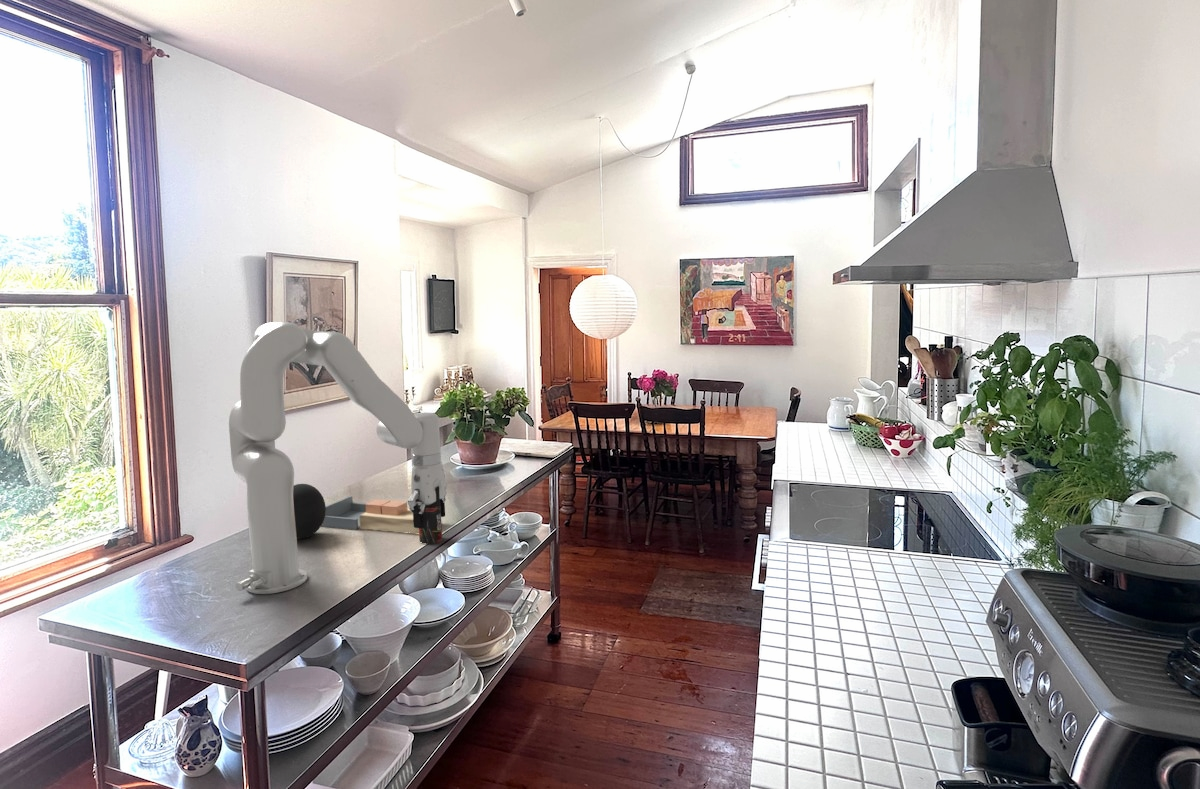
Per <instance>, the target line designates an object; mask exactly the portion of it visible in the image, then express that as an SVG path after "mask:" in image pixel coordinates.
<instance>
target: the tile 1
mask: <svg viewBox="0 0 1200 789" xmlns="http://www.w3.org/2000/svg"><path fill="white" fill-rule="evenodd" d="M391 501H392V500H388V499H387V500H386V499H378V498H376V499H374V500H372V501H370V502H367V503H366V504H365V505H366V513H375V514H382V505H384V504H386V503H388V502H391Z"/></svg>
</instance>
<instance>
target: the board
mask: <svg viewBox="0 0 1200 789" xmlns="http://www.w3.org/2000/svg"><path fill="white" fill-rule="evenodd" d="M359 529H360V530H367V529H373V530H372V531H377V530H384V531H383V532H387V531H394V532H393V533H397V532H408V533H409V532H410V533H419V528H414V522H413V514H412V512H411V510H410V507H409V506H407V511H405V512H403V513H401V514H399V515H386V514H375V513H366V512H365V513H363V514H361V515H360V528H359Z"/></svg>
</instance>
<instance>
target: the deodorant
mask: <svg viewBox="0 0 1200 789" xmlns="http://www.w3.org/2000/svg"><path fill="white" fill-rule="evenodd" d="M435 488H436V489H435V491H436V492H435V493H436V501H435V502H434V503H432V504H430V505H425V508H424V511H423V513H425V528H419V535H418V537H419V543H420V542H422V543H426V544H425V545H433V544H437V543H440V542H441V541H443V530H442V528H443V526H442V525H443V524H442V517H441V506H440V495H439V486H438V487H435ZM420 502H422V501H420ZM420 506H421V505H418V507H419V508H420ZM422 543H421V544H422Z"/></svg>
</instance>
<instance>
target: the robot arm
mask: <svg viewBox="0 0 1200 789" xmlns="http://www.w3.org/2000/svg"><path fill="white" fill-rule="evenodd" d="M291 362H292V363H297V364H298V363H299V364H307V365H312V366H313V365H314V366H319V367H320V366H321V367H324V369H325V370H327V372H328V373H329V375H331V377H332V378H333V380H335V382H336V383H337V384H338V386H339V387H340V388H341V390H342V391H343V392H344V393H345V395H346V396H347V397H348V398H349V400H351V401H352V402H353V403H354V404H356V405H357V406H359V407H360V408H362V409H364V410H365V411H367V412H369V413H370V414H371V415H373V416H374V417H375V418H376V419H377V420H378V421H379V422H378V423H377V425H376V435H377V438H379V439H380V440H381V442H383V443H385V444H388V445H391V446H394V447H397V448H401V449H404V450H405V449H407V450H410V455H411V466H412V468H411V482H410V483H411V484H410V486H411V495H410V496H409V498H408V499H407V506H408V507H410V510H411V512H412V514H413V522H414V528H425V513H423V511H424V508H425V505H430V504H432V503H434V502H435V501H436V493H435V492H436V491H435V489H436V488H435V487H438V486H439V495H440V506H441V518H444V517H446V505H445V502H446V501H447V500H446V495H447V488H448V483H446V476H445V470H444V465H443V462H442V458H441V457H442V456H441V455H442V454H441V453H442V452H441V435H440V433H441V432H440V419H439V418H440V417H439V416H438V415H437V414H436V413H434V412H420V413H419V412H418V413H413V411H412V410H411V409H410V407H409V406H408V405H407V403H406V402H405V401H404V400H403V399H402V398H401V397H400V396H399V395H397V393H395V392H394V391H393V390H392V389H391V388H390V386H388V385H387V383H385V382H384V381H382V379H381V378H380V377H379V376H378V375H377V373H376V372H375V371H374V370H373V368H372V366H370V364H369V363H368V361H367V360H366V359H365V357H364V356H363V355H362V353H361V352H360V351H359V350H358V348H357V347H356V345H355V344H354V343H353V341H352V340H351V339H350V338H349V337H348V336H347V335H346V334H344V333H341V332H337V331H321V330H315V329H314V330H313V329H309V328H302V327H301V326H299V325H298V324H296V323H294V322H287V321H274V322H273V321H271V322H267V323H264V324H262V325H260V326H259V327H258V328H257V329H256V331H255V332H254V334H253V343H252V345H251V346H250V347H249V349H248V350H247V352H246V354H245V356H244V357H243V359H242V362H241V366H240V373H239V374H240V375H239V382H240V383H239V385H240V386H239V388H240V390H239V392H240V393H239V394H240V400H239V401H237V402H236V403H235V404H234V406H232V408H231V410H230V413H229V416H228V431H229V432H228V433H229V443H230V446H229V447H230V457H231V465H232V468H233V471H234V473H235V474H236V476H237V477H238V478H239V479H240V480H241V481H242V482H245V483H246V517H247V525H248V534H249V535H248V536H249V545H250V555H251V568H252V569H251V570H248V576H247V577H246V579H242V580H241V581H238V582H236V583H235V588H236V591H238V592H242V591H244V590H245V589H246V590H247V592H249V593H251V594H255V595H269V594H278V593H282V592H286V591H289V590H292V589H295V588H296V587H299V586H301V585H302V584H303V583H305V582H306V581H307V579H308V572H307V570H305V569H303V568H300V563H299V562H300V561H299V551H298V550H299V549H298V540H297V539H298V538H297V537H296V525H295V514H294V501H293V487H294V485H295V482H294V481H295V469H294V466H293V465H294V464H293V463H292V460H291V458H290V457H289V456H288V455H287V454H286V453H285V452H283V451H282V450H280V449H278V448H276V441H277V439H279V438H280V437H282V434H283V433H284V431H285V430H286V424H287V420H286V411H285V408H286V407H285V400H284V399H285V397H284V377H285V376H284V375H285V371H286V369H287V368H288V366H289V364H291ZM420 501H422V502H420ZM418 505H421V506H420V508H419V507H418Z"/></svg>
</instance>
